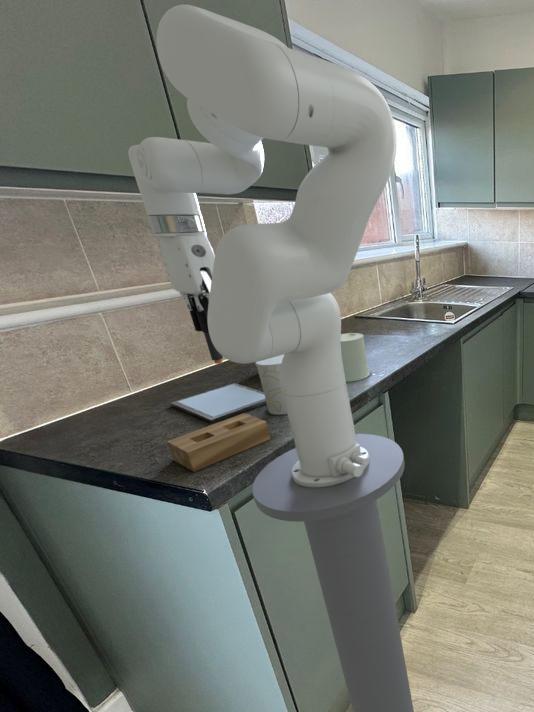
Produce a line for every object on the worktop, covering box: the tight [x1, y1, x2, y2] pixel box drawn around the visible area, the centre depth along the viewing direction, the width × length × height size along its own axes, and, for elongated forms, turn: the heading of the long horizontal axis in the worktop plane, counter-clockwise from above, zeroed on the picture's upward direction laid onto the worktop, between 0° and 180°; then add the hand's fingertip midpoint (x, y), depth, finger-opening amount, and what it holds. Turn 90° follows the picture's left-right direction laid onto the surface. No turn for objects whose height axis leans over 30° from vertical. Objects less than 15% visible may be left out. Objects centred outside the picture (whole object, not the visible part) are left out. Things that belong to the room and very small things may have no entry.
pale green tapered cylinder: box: [341, 332, 371, 383], centre depth 116 cm, size 9×9×12 cm
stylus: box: [195, 302, 224, 365], centre depth 79 cm, size 2×2×12 cm
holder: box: [166, 412, 271, 473], centre depth 80 cm, size 8×14×4 cm, turn 148°
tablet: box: [170, 382, 267, 424], centre depth 103 cm, size 20×15×1 cm
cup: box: [256, 354, 288, 416], centre depth 97 cm, size 8×8×12 cm
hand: (209, 329), depth 79 cm, fingers closed on stylus, 1 cm apart
